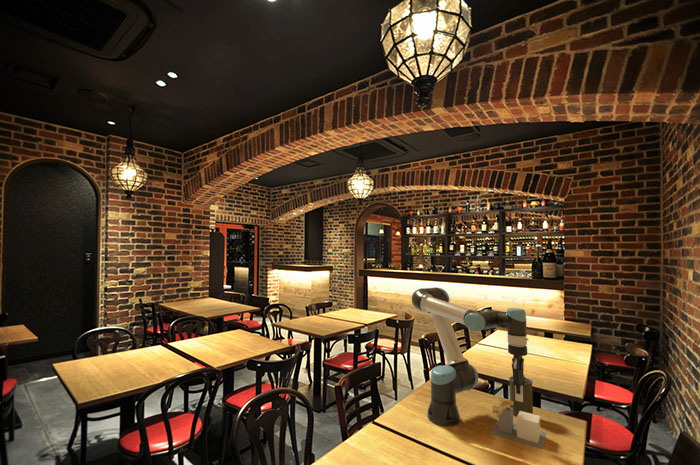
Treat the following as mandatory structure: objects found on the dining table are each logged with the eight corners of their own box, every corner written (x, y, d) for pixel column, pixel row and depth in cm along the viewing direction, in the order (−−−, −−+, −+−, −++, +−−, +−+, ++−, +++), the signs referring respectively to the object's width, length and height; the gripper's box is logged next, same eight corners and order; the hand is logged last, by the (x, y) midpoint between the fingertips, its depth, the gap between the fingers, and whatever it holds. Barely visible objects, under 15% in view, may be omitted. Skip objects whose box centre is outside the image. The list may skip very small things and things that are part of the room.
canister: (536, 422, 157) (535, 379, 159) (513, 419, 159) (512, 377, 161) (529, 412, 168) (528, 371, 169) (507, 409, 170) (506, 369, 172)
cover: (516, 436, 142) (516, 417, 143) (520, 429, 149) (519, 410, 149) (538, 443, 138) (537, 423, 138) (540, 434, 144) (540, 415, 145)
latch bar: (500, 404, 152) (500, 395, 153) (514, 408, 148) (513, 399, 149) (487, 415, 142) (487, 405, 142) (501, 419, 138) (501, 409, 138)
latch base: (490, 435, 145) (489, 412, 146) (498, 421, 158) (497, 399, 159) (542, 451, 133) (542, 426, 134) (546, 434, 146) (546, 411, 147)
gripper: (523, 349, 137) (525, 408, 135) (529, 343, 148) (531, 398, 146) (504, 346, 142) (506, 403, 140) (511, 340, 152) (513, 393, 150)
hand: (519, 400), depth 143 cm, fingers closed
